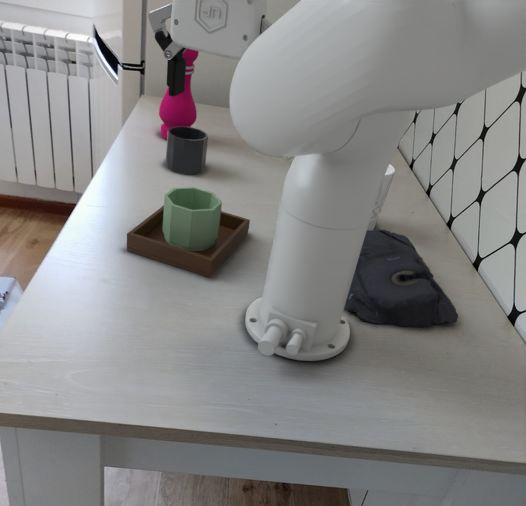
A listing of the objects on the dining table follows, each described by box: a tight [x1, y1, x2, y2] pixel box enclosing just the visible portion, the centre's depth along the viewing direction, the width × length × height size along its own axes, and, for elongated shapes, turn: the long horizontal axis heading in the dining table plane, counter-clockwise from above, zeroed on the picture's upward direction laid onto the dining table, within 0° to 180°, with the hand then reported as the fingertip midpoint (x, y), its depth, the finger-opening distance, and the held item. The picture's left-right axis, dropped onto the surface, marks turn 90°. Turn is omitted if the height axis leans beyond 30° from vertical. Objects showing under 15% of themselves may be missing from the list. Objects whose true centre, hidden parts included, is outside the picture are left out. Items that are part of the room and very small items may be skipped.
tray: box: [126, 205, 251, 278], centre depth 82 cm, size 14×12×3 cm
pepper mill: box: [158, 49, 200, 140], centre depth 110 cm, size 7×7×20 cm
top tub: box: [162, 186, 223, 251], centre depth 81 cm, size 7×7×6 cm
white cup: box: [367, 164, 396, 231], centre depth 94 cm, size 8×8×10 cm
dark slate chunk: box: [344, 228, 459, 328], centre depth 82 cm, size 15×22×5 cm
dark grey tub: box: [165, 126, 209, 176], centre depth 103 cm, size 7×7×6 cm
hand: (212, 103), depth 72 cm, fingers open, 9 cm apart
